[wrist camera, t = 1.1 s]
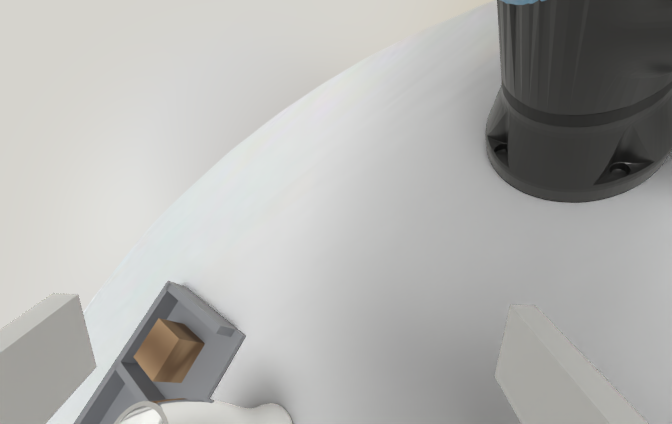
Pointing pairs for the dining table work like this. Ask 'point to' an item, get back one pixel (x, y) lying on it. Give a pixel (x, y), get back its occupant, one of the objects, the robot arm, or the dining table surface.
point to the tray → (135, 385)
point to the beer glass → (201, 413)
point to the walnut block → (168, 351)
